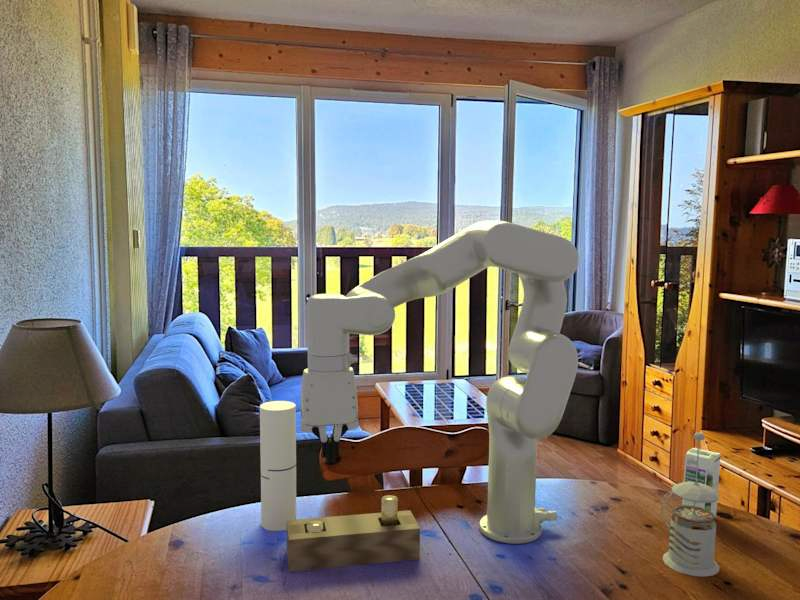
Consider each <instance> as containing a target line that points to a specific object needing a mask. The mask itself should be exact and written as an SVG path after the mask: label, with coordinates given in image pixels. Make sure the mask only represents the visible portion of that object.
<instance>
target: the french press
mask: <svg viewBox="0 0 800 600" xmlns="http://www.w3.org/2000/svg"><path fill="white" fill-rule="evenodd" d="M692 438H693V439H694V440H696V441H697V448H698V453H697V467H696V482H691V481H689V482H684V481H683V482H679V483H677V484H675V485H672V487H671V491H669V492H667V493H665V494H664V496H663V497H662V499H661V509H660V510H661V515H662V519H663V520H664V523H665V524H666V526H667V527H668V528H669V541H668V542H669V543H668V550H667V552H664V554H663V556H662V561H663V562H664V564H665V565H666V566H668V567H669V568H670V569H671V570H674V571H676V572H678V573H681V574H683V575H688V576H692V577H710V576H714V575H716V574H718V573H719V571H720V565H719V564H718V563H717V561H716V559H715V558H714V557H715V554H716V553H715V550H716V536H717V522H716V521H715V519H716V517H715V515H714V514H713V513H712V512H711V511H708V510H707V509H703V508H701V507H696V506H695V502H697V503H712V502H715V501H717V502H718V501H719V499H720V494H719V492H718V493H717V492H716V491H715V490H714V489H712V488H711V487H710V486H707V485H705V484H702V483H697V471H698V456H699V449H700V441H704V440H705V435H704V434H703V432H699V431H698V432H695V433H694V435H693V437H692ZM668 495H669V496H668ZM672 495H673V499H674V500H680V499H682V500H683V499H685V500H688V501H692V502H694V506H692V505H682V504H680V505H677V506H676V505H675V507H673V509H672V511H673V514H671V513H670V507H669V506H670V498H671V496H672ZM667 496H668V498H667V507H666V508H667V512H668V513H667V514H668V517H669V519H670V525H669V524H668V522H667V520H666V519H665V515H664V511H663V510H664V509H663V508H664V500H665V499H666V497H667ZM676 496H677V497H676ZM676 517H677V523H676V522H675V521H676ZM702 523H708V524H709V525H705V524H702ZM708 526H709V527H708ZM691 527H692V528H693V527H702V528H703V529H704V530H703V529H696V528H693V529H692V528H691ZM675 530H676V531H675ZM689 541H690V542H689ZM674 544H675V545H674Z"/></svg>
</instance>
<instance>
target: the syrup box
mask: <svg viewBox="0 0 800 600" xmlns="http://www.w3.org/2000/svg"><path fill="white" fill-rule="evenodd" d="M697 453H698V447H692V448H691V449H689V450H688V451H687V452H686V453H685V456H684V467H683V468H684V469H683V470H684V472H683V482H689V481H691V482H696V467H697ZM721 454H722V453H721V452H715V451H711V450H710V451H709V450H707V449H700V448H699V456H698V471H697V483H702V484H705V485H707V486H710V487H711V488H712V489H714V490H715V491H716V492H717V493H718V494H719V480H720V466H721ZM681 505H692V506H694V502H692V501H688V500H685V499H683V498H682V504H681ZM695 506H696V507H701V508H703V509H707V510H708V511H711V512H712V513H713V514H714V515H715V518H717V511H718V510H717V508H718V507H717V506H718V500H717V501H715V502H712V503H697V502H695ZM702 524H704V525H706V526H709V524H708V523H702Z"/></svg>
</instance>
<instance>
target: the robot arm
mask: <svg viewBox="0 0 800 600" xmlns="http://www.w3.org/2000/svg"><path fill="white" fill-rule="evenodd" d="M578 252H579V251H578V249H577V248H576V246H575V245H574V243H572V241H570V240H569V239H567V238H565V237H562V236H559V235H555V234H552V233H549V232H545V231H541V230H537V229H535V228H534V229H533V228H530V227H527V226H524V225H520V224H517V223H513V222H509V221H505V220H480V221H478V222H475V223H473V224H471V225H469V226H467V227H466V228H464V229H462V230H460V231H459V232H457V233H455V234H454V235H452V236H450V237H449V238H447V239H445V240H444V241H442V242H440V243H438V244H437V245H434V246H433V247H432V248H430V249H428V250H426V251H424V252H423V253H421V254H418V255H417V256H414V257H412V258H409V259H407V260H405V261H404V262H401V263H399V264H397V265H394V266H392V267H390V268H388V269H386V270H384V271H381V272H379V273H378V274H376V275H375V276H372V277H371V278H369V279H367V280H366V281H364V282H362V283H361V284H359V285H357V286H355V287H354V288H352V289H351V290H350V291H349V292H348V293H347V294H346V295H343V294H339V293H317V294H314V295H311V296H309V297H308V299H307V302H306V335H307V337H306V339H307V340H306V341H307V368H305V369H304V370H303V372H302V378H301V387H300V416H301V421H300V424H299V429H300V431H301V432H303V433H309V434H313V435H314V436H316V437H317V439H319V440H320V443H321V444H320V445H321V458H324V459H325V463H326V464H330V463H332V464H335V463H336V458H337V457H339V456H340V453H339V450H340V449H339V441H340V440H341V439H342V437H343V436H344V435H345V434H346V433H347V432H348V431H351V430H354V429H355V430H356V429H358V428H359V427H360V422H359V419H358V417H359V407H358V406H359V405H358V394H357V393H358V392H357V385H356V377H355V371H354V367H352V366H351V365H352V364H354V363H358V362H359V361H358V360H359V358H358V354H352V353H350V334H351V335H360V336H361V335H363V336H378V335H381V334H383V333H385V332H387V331H388V330H389V329H391V328H392V326H393V325H394V324H395V323H394V322H395V318H396V309H395V308H397V307H399V306H401V305H404V304H406V303H408V302H410V301H414V300H418V299H425V298H432V297H435V296H440V295H442V294H443V295H444V294H445V293H447V292H450V291H451V290H453V289H454V288H456V287H457V286H459V285H461V284H462V283H464V282H465V281H468V280H469V279H470V278H472V277H475V276H476V275H477V274H479V273H481V272H482V271H484V270H485V269H487V268H490V267H493V268H499V269H503V270H506V271H510V272H513V273H517V275H518V277H519V279H520V282H521V284H522V288H523V300H522V305H521V308H520V312H519V315H518V318H517V321H516V325H515V328H514V330H513V333H512V337H511V340H510V343H509V347H508V352H507V354H508V355H507V356H508V359H509V361H510V362H509V363H510V364H511V365H512V366H513V367H514V368H516V369H517V370H518V371H520V372H522V373H524V374H526V375H527V376H526V379H524V378H520V377H518V376H513V375H512V376H503V377H499V379H496V381H494V382H493V383H492V384H491V386H490V388H489V390H488V391H487V395H486V403H485V404H486V405H485V407H486V416H487V422H488V434H489V437H488V439H489V441H488V477H487V478H488V479H487V506H486V507H487V510H486V511H487V512H486V515H484V516H482V517H481V519H480V520H479V522H478V523H479V524H478V528H479V529H478V530H479V531H480V533H482V534H483V535H484V536H485V537H487V538H489V539H490V540H493V541H496V542H500V543H505V544H515V545H516V544H517V545H519V544H527V543H531V542H534V541H536V540H537V539H539V538H540V537H541V535H542V533H543V532H542V531H543V530H542V529H543V526H542V524H543V523H544V522H546V521H547V522H553V521H554V522H555V521H558V513H557V511H556V510H549V511H548V510H547V509H546V507H536V490H537V489H536V486H537V484H536V483H537V463H538V462H537V461H538V460H537V458H538V442H537V441H538V440H543V439H545V438H548V437H549V436H551V435H552V434H553V433H554V432H555V431H556V429H557V428H558V427H559V425H560V422H561V421H562V418H563V415H564V413H565V411H566V407H567V404H568V400H569V398H570V395H571V391H572V389H573V385H574V382H575V379H576V375H577V372H578V369H579V368H578V367H579V353H578V350H577V347H576V346H575V344H574V342H573V341H572V340H571V339H570V338H569V337H567V336H566V335H564V334H561V329H562V326H563V322H564V318H565V316H566V315H565V314H566V311H567V303H568V299H567V298H568V296H567V295H568V294H567V290H566V289H567V288H566V285H565V283H564V282H565V281H567V280H568V279H570V278H571V277H573V276H574V274H575V272H576V271H577V270H578V267H579V263H580V256H579V253H578ZM326 426H328V427H329V426H332V432H331V434H330V437H329V435H328V434H327V428H326Z"/></svg>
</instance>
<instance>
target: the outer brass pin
mask: <svg viewBox="0 0 800 600" xmlns="http://www.w3.org/2000/svg"><path fill="white" fill-rule="evenodd" d="M311 532H323V523H322V522H321V521H311V522H308V523H307V533H311Z"/></svg>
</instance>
